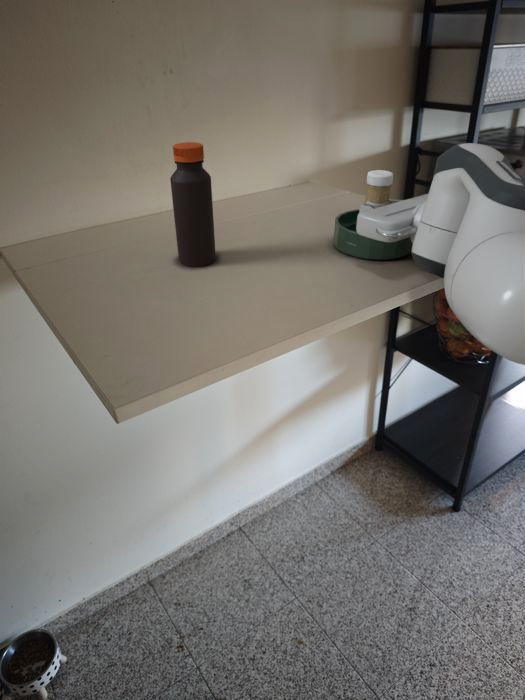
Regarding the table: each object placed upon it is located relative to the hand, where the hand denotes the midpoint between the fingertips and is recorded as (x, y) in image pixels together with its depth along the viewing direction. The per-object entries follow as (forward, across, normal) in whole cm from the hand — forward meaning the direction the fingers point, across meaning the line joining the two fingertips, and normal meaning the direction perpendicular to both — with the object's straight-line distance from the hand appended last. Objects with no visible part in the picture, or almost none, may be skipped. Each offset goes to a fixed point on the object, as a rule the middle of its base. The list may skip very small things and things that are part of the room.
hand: (372, 205), depth 93 cm
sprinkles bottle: (-1, 0, -7) cm, 7 cm away
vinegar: (+15, -30, -8) cm, 34 cm away
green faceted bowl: (-1, 0, -8) cm, 8 cm away
